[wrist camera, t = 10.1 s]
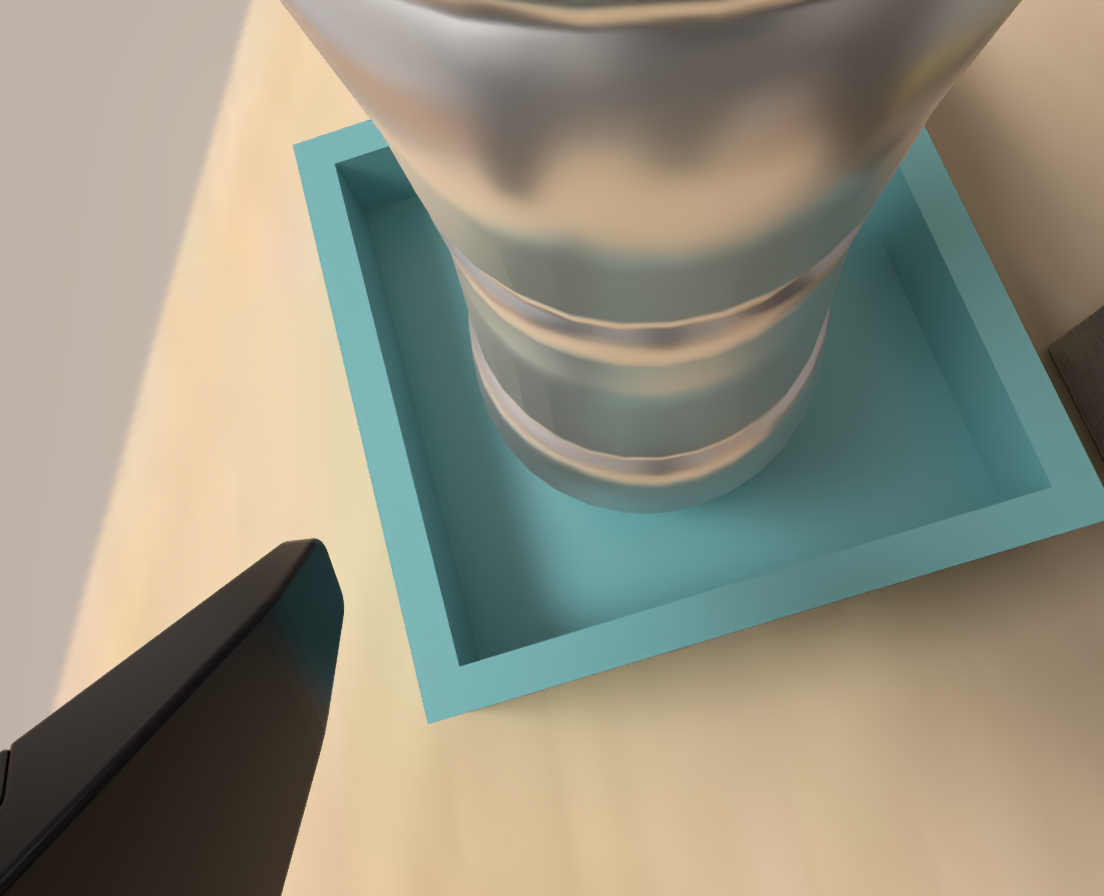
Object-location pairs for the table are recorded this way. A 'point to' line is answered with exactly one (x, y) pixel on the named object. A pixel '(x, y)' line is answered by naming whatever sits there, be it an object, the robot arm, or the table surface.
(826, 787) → the table surface
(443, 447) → the tray
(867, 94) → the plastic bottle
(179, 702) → the robot arm
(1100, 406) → the open frame
